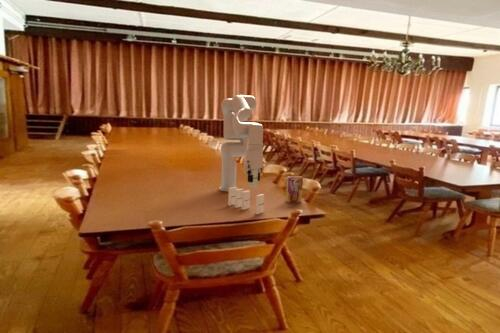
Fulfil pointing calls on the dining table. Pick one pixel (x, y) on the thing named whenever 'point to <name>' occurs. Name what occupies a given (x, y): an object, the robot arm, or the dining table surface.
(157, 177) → the dining table surface
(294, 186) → the candy box
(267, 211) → the dining table surface
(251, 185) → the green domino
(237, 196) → the domino
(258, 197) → the domino
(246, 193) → the domino
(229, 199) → the domino
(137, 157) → the dining table surface
